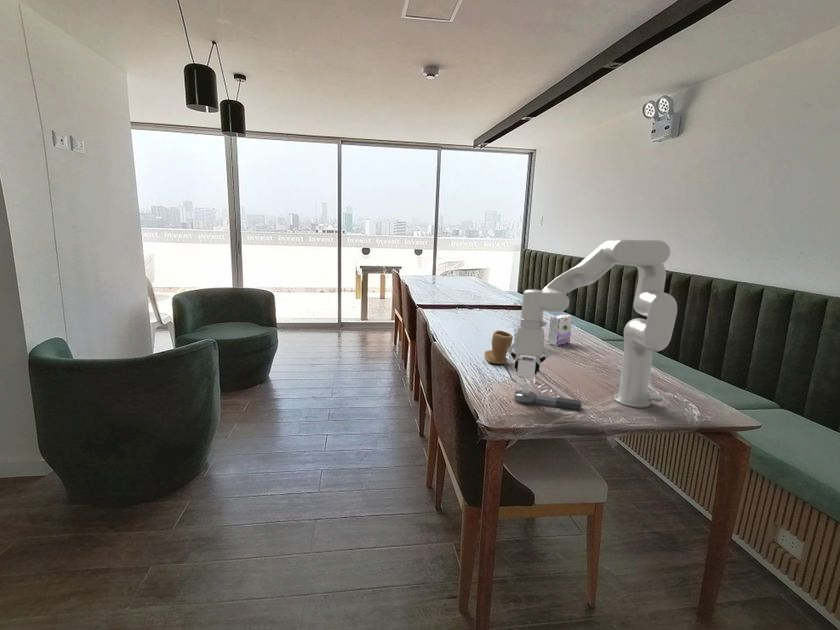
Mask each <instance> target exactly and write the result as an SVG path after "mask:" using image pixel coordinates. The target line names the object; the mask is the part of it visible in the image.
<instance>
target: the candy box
mask: <svg viewBox="0 0 840 630" xmlns="http://www.w3.org/2000/svg"><path fill="white" fill-rule="evenodd" d="M572 322H573V315H570V314H559V315H558V314H557V315H554V316H553V315H552V316H550V323H549V333H548V343H547V344H548V345H549V344H551V345H550V346H553V345H556V346H555V347H558V346H557V345H560V346H562V345H561V344H564V343H567V344H569V343H568V342H570V343H571V332H572ZM564 345H565V344H564Z"/></svg>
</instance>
